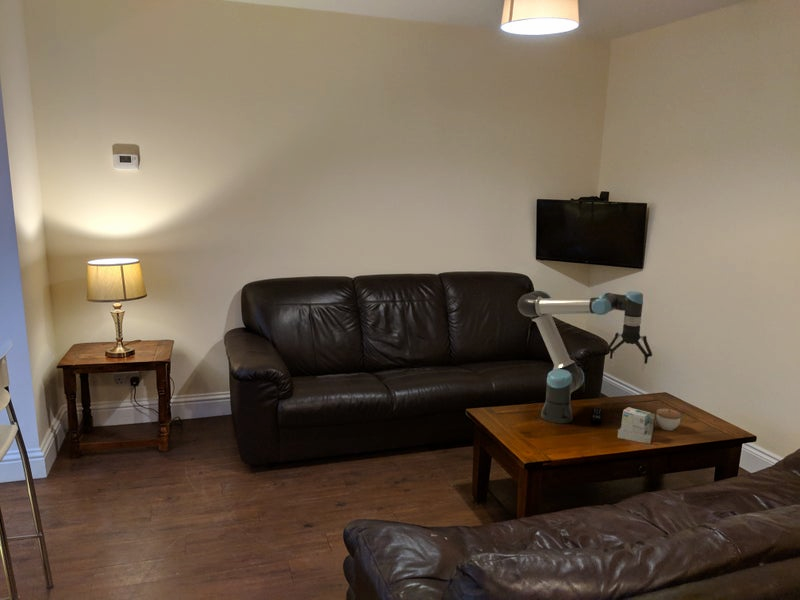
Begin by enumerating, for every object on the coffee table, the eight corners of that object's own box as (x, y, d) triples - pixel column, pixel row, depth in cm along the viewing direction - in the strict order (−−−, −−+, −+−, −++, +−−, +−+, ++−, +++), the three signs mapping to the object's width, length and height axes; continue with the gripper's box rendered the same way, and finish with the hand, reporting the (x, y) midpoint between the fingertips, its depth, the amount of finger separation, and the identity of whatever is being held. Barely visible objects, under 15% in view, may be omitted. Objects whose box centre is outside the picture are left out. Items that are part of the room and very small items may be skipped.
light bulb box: (649, 434, 278) (651, 412, 276) (643, 438, 274) (645, 416, 271) (626, 427, 286) (628, 406, 283) (620, 431, 281) (622, 410, 279)
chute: (617, 437, 276) (618, 429, 275) (621, 426, 289) (622, 418, 289) (650, 443, 270) (651, 436, 269) (652, 431, 283) (653, 424, 282)
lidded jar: (681, 433, 282) (684, 414, 280) (657, 431, 284) (659, 412, 282) (676, 424, 292) (678, 406, 290) (653, 422, 294) (655, 404, 292)
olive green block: (621, 425, 290) (622, 413, 289) (623, 420, 296) (624, 408, 295) (652, 431, 284) (653, 419, 283) (653, 425, 290) (654, 414, 289)
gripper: (603, 322, 284) (599, 365, 289) (660, 329, 273) (655, 373, 278) (605, 319, 291) (601, 361, 295) (661, 326, 280) (656, 369, 284)
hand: (627, 367), depth 286 cm, fingers open, 13 cm apart
